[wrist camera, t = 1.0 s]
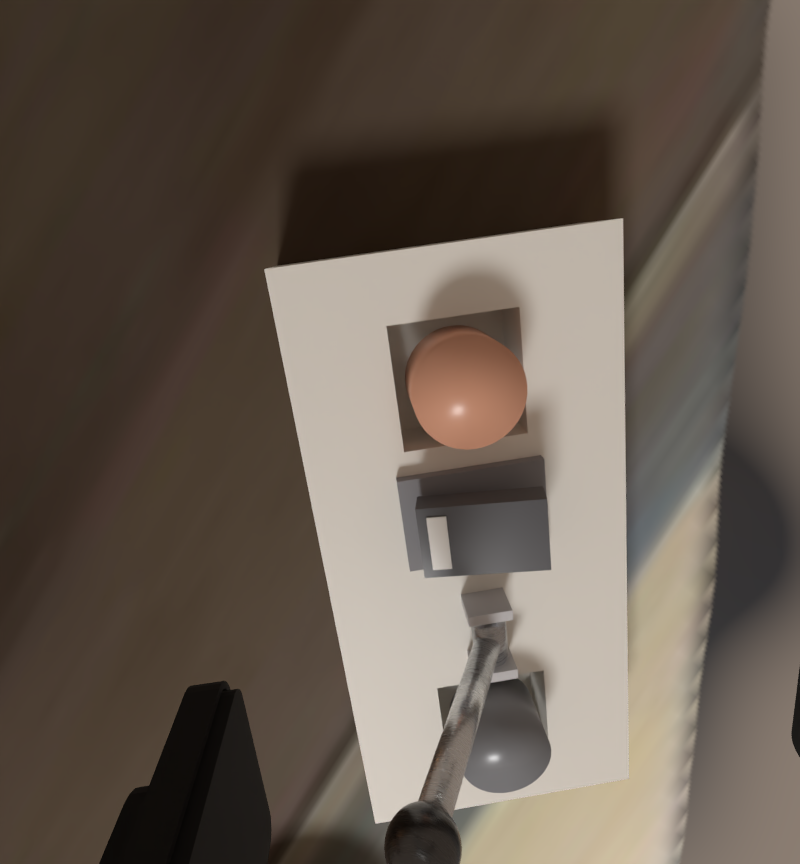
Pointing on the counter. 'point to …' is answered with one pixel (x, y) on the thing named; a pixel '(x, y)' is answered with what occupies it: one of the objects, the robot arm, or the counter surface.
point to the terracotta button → (465, 387)
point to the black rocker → (484, 532)
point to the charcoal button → (508, 741)
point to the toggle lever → (448, 763)
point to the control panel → (388, 440)
